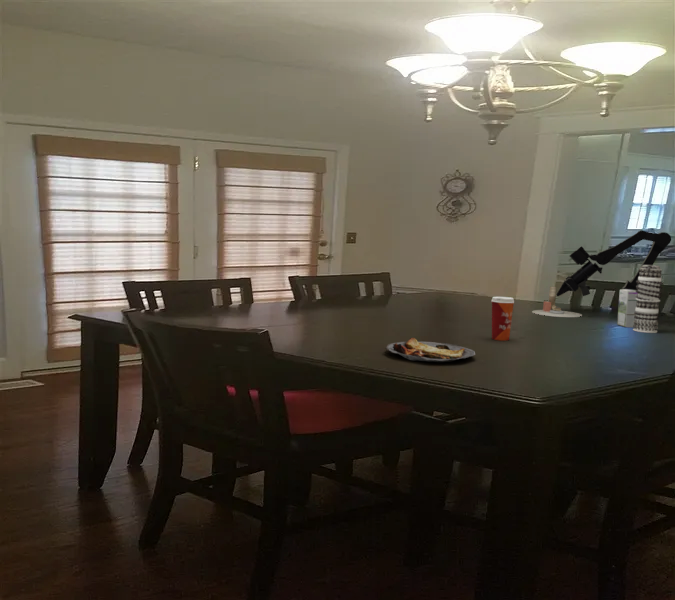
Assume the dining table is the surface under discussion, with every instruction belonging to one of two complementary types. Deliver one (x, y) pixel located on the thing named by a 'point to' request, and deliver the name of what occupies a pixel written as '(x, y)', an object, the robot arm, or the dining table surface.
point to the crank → (553, 298)
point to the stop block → (547, 306)
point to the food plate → (429, 351)
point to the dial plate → (557, 313)
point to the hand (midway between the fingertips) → (557, 295)
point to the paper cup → (501, 317)
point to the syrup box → (627, 307)
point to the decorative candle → (647, 299)
